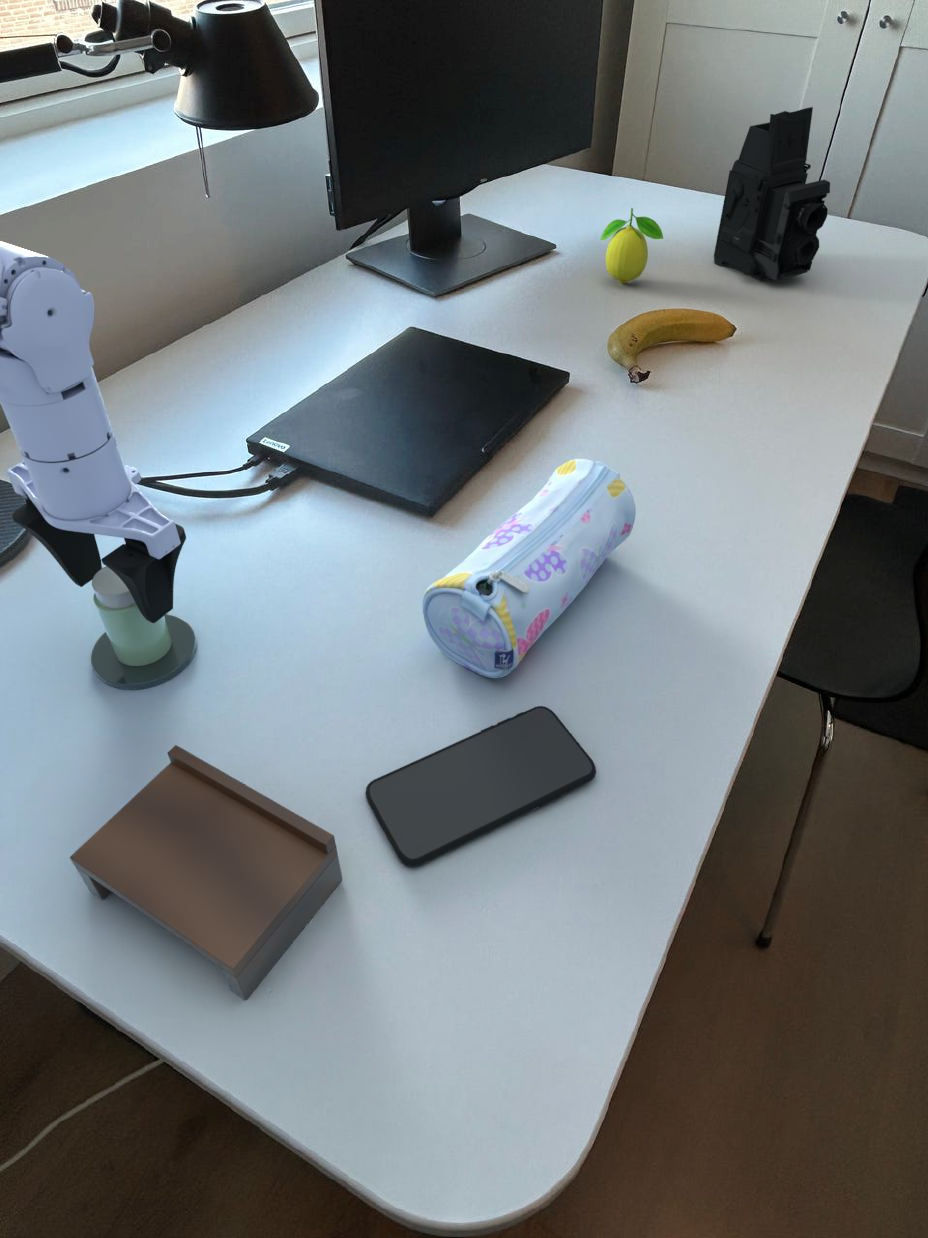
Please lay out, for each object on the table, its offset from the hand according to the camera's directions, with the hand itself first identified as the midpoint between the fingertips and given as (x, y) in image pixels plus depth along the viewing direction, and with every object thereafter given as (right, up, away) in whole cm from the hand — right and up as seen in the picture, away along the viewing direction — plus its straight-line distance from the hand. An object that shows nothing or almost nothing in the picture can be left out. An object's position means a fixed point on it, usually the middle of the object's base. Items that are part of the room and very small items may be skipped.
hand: (123, 595), depth 66 cm
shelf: (+10, -18, -11) cm, 24 cm away
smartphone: (+27, -13, -5) cm, 30 cm away
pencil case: (+31, -1, +8) cm, 32 cm away
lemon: (+48, +44, +55) cm, 85 cm away
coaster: (0, -4, +4) cm, 6 cm away
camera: (+68, +47, +58) cm, 101 cm away
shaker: (0, -4, +4) cm, 6 cm away
